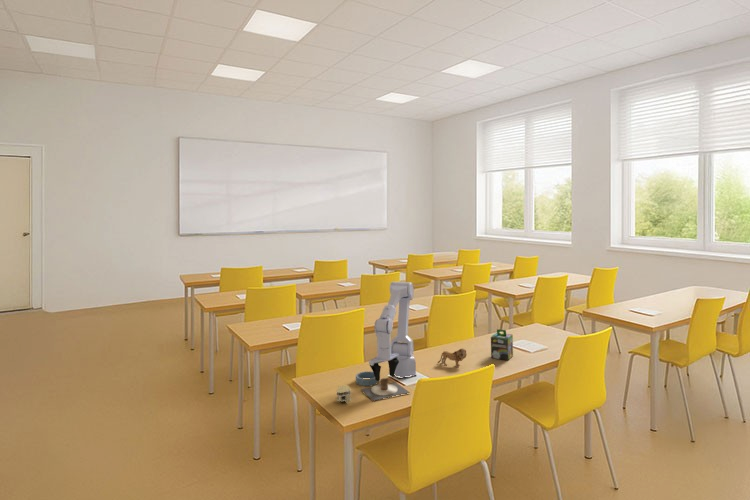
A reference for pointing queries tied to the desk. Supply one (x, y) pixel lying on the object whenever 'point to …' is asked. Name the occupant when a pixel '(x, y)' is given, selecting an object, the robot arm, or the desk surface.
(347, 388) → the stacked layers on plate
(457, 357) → the lion figurine
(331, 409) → the desk surface
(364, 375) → the bowl
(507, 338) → the chalk box
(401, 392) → the mat
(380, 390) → the lid
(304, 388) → the desk surface
